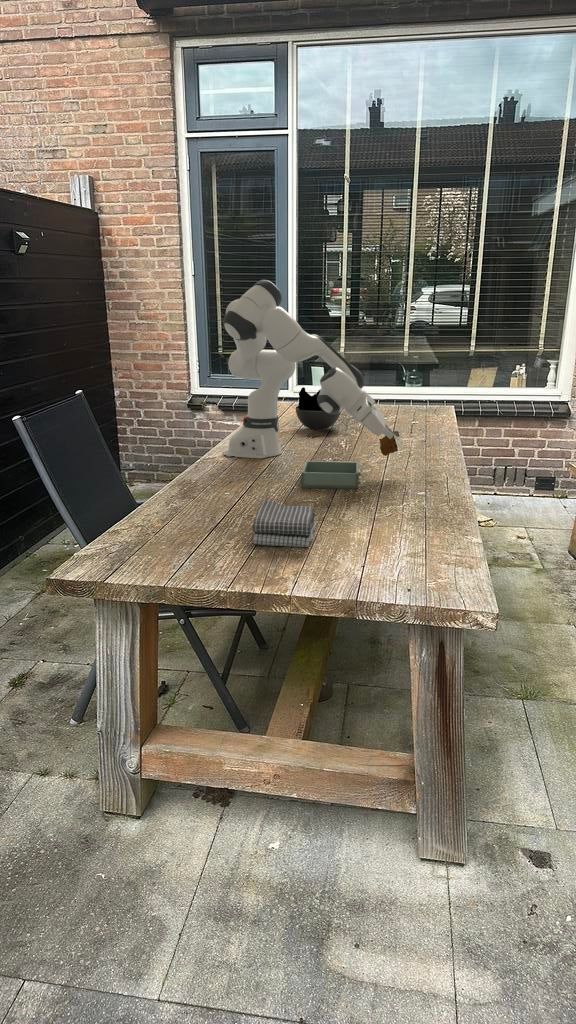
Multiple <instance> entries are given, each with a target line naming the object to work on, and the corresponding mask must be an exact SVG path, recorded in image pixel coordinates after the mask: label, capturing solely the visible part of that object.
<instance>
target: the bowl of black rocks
mask: <svg viewBox="0 0 576 1024" xmlns="http://www.w3.org/2000/svg"><path fill="white" fill-rule="evenodd" d="M320 390H321V388H320V389H318V391H317V392H316V393H314V394H313V395H311V394H310V393H308V391H306V387H304V386H303V387H301V389H300V390H299V392H298V405H297V406H295V413H296V417H297V418H298V420H299V422H300V423H301V425H303V426H305V427H306V428H307V429H310V430H312V431H324V430H327V429H329V428H331V427H332V426H334V424H336V422H337V421H338V419H339V417H340V414H341V412H342V410H341V411H340V412H339V413H338V414H327V413H326V412H324V411H323V410H322V409H321V408H320V407H319V405H318V400H317V397H318V395H319V393H320Z"/></svg>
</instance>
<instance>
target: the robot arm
mask: <svg viewBox="0 0 576 1024" xmlns="http://www.w3.org/2000/svg"><path fill="white" fill-rule="evenodd" d="M282 301H283V298H282V294H281V291H280V289H279V287H278V286H277V285H276V284H274V283H273V282H272V281H270V280H268V279H261V280H259V281H257V282H256V283H254V284H253V286H251V288H249V289H248V290H246V292H244V294H242V295H241V296H240V298H237V299H234V300H232V301H231V302H230V303H228V305H227V306H226V310H225V315H224V316H223V319H222V325H223V328H224V330H225V331H226V332H227V334H228V335H229V336H230V337H232V338H233V341H234V343H235V346H236V350H234V351H233V352H232V353H231V354H230V356H229V358H228V361H227V364H228V365H227V366H228V369H229V373H231V375H232V376H233V377H236V378H239V379H243V380H259V381H261V384H260V387H259V388H257V389H254V390H253V391H251V392H250V394H249V395H248V397H247V415H244V416H243V418H242V425H243V426H242V427H240V429H238V430H237V431H236V432H234V433H233V434H232V435H231V437H230V438H229V441H228V442H229V443H228V446H227V447H226V448H224V449H223V451H222V452H223V454H224V455H226V456H225V457H231V456H235V457H234V458H246V459H248V458H250V459H265V458H270V457H275V456H278V455H281V454H282V453H283V450H282V448H281V444H280V443H281V442H280V438H279V429H280V426H279V425H280V423H279V422H280V420H279V416H278V400H279V393H280V391H281V389H282V387H283V385H284V384H285V383H286V382H287V381H288V380H290V379H291V377H293V375H294V374H295V371H296V363H300V362H303V361H306V360H309V359H310V358H312V357H314V356H318V357H319V358H321V359H322V360H323V361H324V362H325V363H326V364H327V365H328V366H329V367H331V368H330V369H328V370H327V371H326V372H325V373H323V375H322V376H321V378H320V380H319V384H320V389H321V390H320V389H319V390H320V393H319V395H318V397H317V400H318V405H319V407H320V408H321V409H322V410H323V411H324V412H326V413H327V414H338V413H339V412H340V411H341V412H342V410H343V409H344V410H345V411H346V412H347V413H348V414H349V415H350V416H351V417H352V418H353V419H354V420H355V421H356V423H359V424H360V423H361V424H362V425H363V427H365V428H366V429H367V430H369V431H370V432H371V433H372V434H373V435H374V436H377V437H380V436H381V435H382V434H383V436H384V437H385V436H387V437H388V438H389V439H391V438H392V437H393V435H394V433H393V431H394V430H392V429H391V428H390V427H389V425H388V424H387V423H386V420H385V415H384V414H383V412H382V411H380V410H379V409H378V408H377V407H376V405H375V403H376V400H375V399H374V398H373V397H372V396H371V395H369V393H368V392H367V391H365V390H364V389H363V387H364V382H365V381H364V376H363V373H362V372H361V371H360V370H359V369H358V368H357V367H355V366H354V365H352V364H351V363H350V362H349V361H348V360H347V359H346V358H345V357H344V356H343V355H342V354H340V353H339V352H338V351H337V350H336V349H335V348H334V347H333V346H332V345H331V344H330V343H328V342H327V341H326V340H325V339H324V338H323V337H322V336H320V335H318V334H315V333H312V334H310V333H308V332H306V331H305V330H304V329H303V328H302V326H301V325H300V324H299V323H298V322H297V320H296V319H295V318H294V317H293V316H292V315H291V314H290V313H289V312H288V311H287V310H285V309H284V308H283V307H282V306H280V305H281V303H282ZM267 342H269V344H270V345H271V346H272V348H273V349H265V347H266V344H267ZM341 412H340V413H341ZM224 455H223V456H224Z"/></svg>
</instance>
